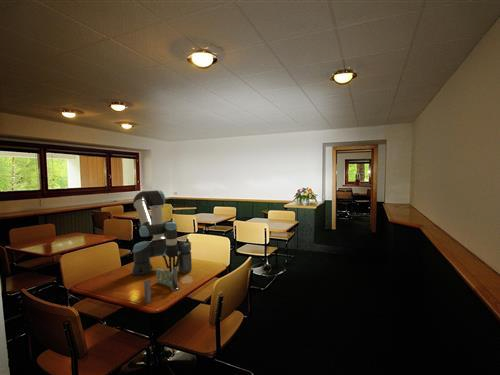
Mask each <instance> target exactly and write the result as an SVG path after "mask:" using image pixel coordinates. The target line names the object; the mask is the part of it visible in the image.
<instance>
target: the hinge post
mask: <svg viewBox="0 0 500 375" xmlns="http://www.w3.org/2000/svg"><path fill="white" fill-rule="evenodd" d="M173 278H174V287H171V288H170V290H171V291H172V292H173V291H175V292H177V291H178V290H180V289H181V286H180V285H179V286H178V267H174V268H173Z"/></svg>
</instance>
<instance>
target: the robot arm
mask: <svg viewBox="0 0 500 375" xmlns="http://www.w3.org/2000/svg"><path fill="white" fill-rule="evenodd" d="M132 203H133V208H134V209H135V210H136V213H137V215H138V219H139V222H140V225H141V226H139V235H140V237H142V238H143V237H150V236H152V239H151V240H150V241H151V242H150V241H148V240H146V241H145V240H144V241H140V242H138V243H135V244H134V246H133V266H132V270H131V275H132V276H135V277H140V276H146V275H149V274H151V273H153V271H154V270H153V269H154V268H153V266H152V263H151V258H155V257H162V258H163V259H164V263H165V266H166V268H167V269H168V271H170V272H173V268H174V267H177V268H178V263H179V258H180V255H181V253H180V252H179V251H178V235H177V234H178V225H177V222H176V221H167V222H164V220H163V207H164V204H166V197H165V194H164V192H163V191H162V190H143V191H140V192H138V193H137V194H136V195H135V196H134V197H133V201H132ZM148 208H149V209H150V212H149V209H148ZM150 214H151V215H150ZM176 256H177V257H176ZM167 257H168V260H167Z"/></svg>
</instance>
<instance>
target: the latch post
mask: <svg viewBox="0 0 500 375" xmlns="http://www.w3.org/2000/svg"><path fill="white" fill-rule="evenodd" d="M142 283H143V284H144V303H145V304H149V303H151V302H152V297H151V296H152V294H151V293H152V292H151V291H152V288H151V283H152V280H151V279H146V280H143V282H142Z"/></svg>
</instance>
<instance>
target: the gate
mask: <svg viewBox="0 0 500 375" xmlns="http://www.w3.org/2000/svg"><path fill="white" fill-rule="evenodd" d="M155 272H156V273H155V275H156V276H155V277H156V278H155V279H156V280H155V282H156V283H159V284H161V285H162V284H163V285H165V286H168V287H171V288H172V287H174V278H173V272H170V271H169V270H166V269H163V268H160V267H157V268H156V269H155Z"/></svg>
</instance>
